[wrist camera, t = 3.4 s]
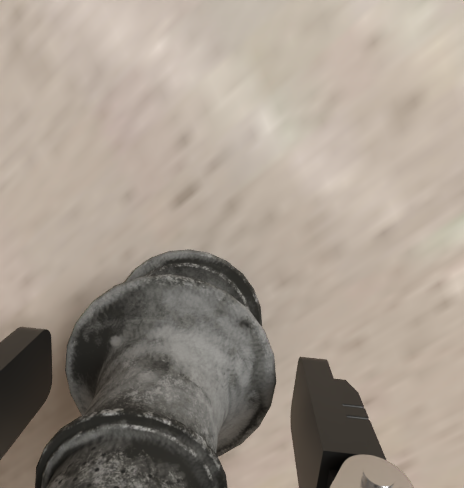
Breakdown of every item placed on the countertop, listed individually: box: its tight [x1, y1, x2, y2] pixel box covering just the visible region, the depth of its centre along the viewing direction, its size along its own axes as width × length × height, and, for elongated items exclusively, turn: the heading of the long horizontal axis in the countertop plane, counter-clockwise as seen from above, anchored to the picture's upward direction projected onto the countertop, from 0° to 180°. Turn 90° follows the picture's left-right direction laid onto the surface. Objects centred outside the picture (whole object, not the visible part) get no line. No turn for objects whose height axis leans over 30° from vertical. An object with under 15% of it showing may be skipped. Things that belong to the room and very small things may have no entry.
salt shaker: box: [35, 250, 276, 488], centre depth 9 cm, size 6×6×12 cm
